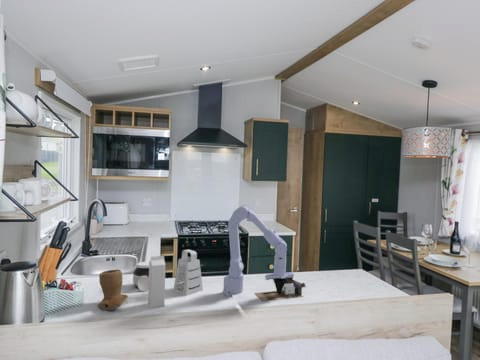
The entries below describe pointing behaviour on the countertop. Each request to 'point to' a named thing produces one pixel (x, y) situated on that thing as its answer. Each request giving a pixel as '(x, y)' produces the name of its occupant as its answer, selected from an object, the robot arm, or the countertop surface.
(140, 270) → the spread jar
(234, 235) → the robot arm
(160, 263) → the milk
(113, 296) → the brown boot
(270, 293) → the rail board
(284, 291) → the brushed steel box
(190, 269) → the grater
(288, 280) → the mechanical counter
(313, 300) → the countertop surface
